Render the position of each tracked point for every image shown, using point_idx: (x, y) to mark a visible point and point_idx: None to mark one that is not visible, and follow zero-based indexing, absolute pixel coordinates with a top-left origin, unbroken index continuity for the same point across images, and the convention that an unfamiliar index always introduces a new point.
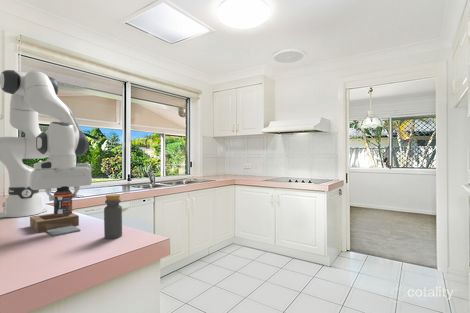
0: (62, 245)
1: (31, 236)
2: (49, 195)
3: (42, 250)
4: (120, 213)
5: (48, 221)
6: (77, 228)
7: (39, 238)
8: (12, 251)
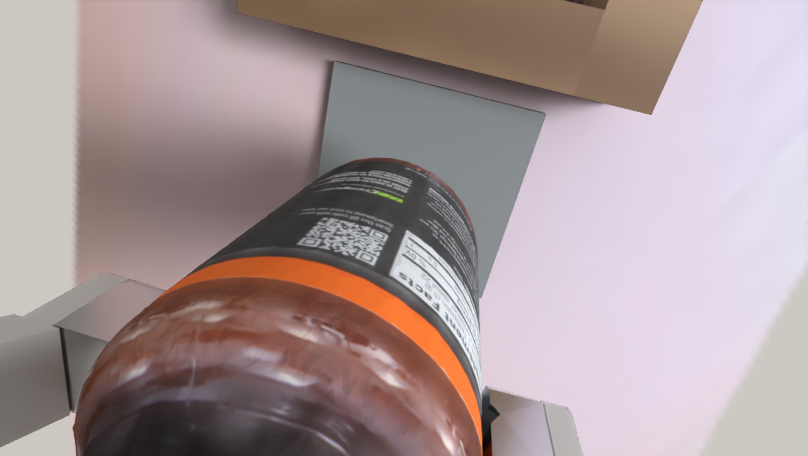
0: None
1: (224, 94)
2: (7, 412)
3: None
4: None
5: (334, 36)
6: (491, 252)
7: (244, 203)
8: None
